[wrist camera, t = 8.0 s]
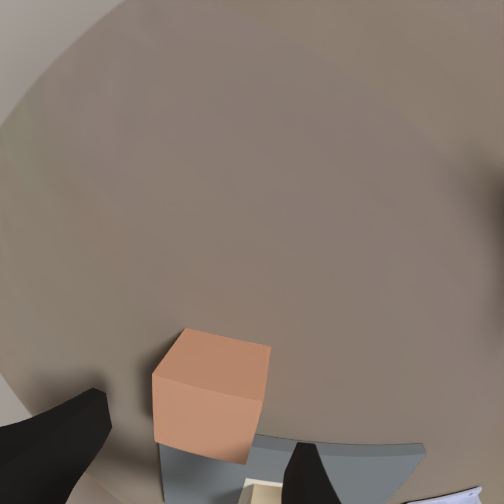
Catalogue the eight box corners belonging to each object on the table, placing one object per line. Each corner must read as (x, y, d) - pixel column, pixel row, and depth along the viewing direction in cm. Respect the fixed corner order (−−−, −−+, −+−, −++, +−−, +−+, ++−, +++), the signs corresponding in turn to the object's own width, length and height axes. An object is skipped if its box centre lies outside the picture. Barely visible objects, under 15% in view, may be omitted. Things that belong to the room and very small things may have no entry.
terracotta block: (271, 345, 13) (263, 401, 9) (256, 408, 14) (245, 465, 10) (186, 327, 14) (152, 374, 10) (181, 390, 14) (154, 441, 11)
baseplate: (422, 443, 13) (427, 454, 12) (353, 523, 16) (354, 532, 15) (164, 412, 15) (157, 423, 14) (169, 500, 18) (165, 509, 17)
